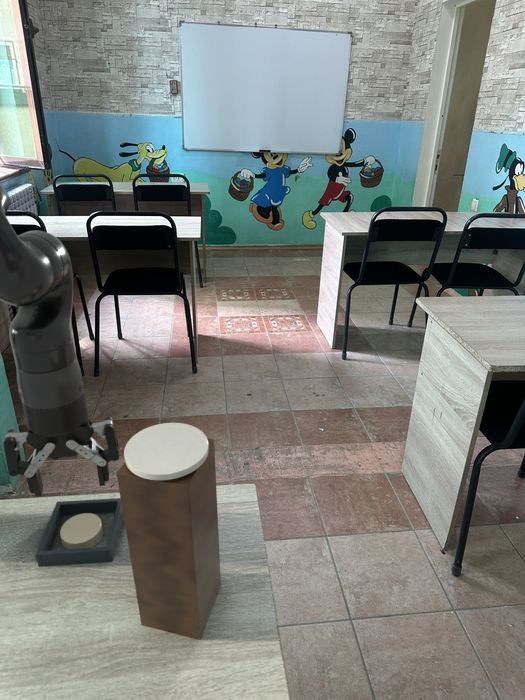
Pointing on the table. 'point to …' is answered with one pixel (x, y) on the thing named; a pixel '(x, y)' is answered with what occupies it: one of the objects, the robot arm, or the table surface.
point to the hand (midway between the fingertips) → (71, 487)
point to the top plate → (81, 531)
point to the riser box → (173, 546)
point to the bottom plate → (166, 451)
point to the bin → (83, 554)
